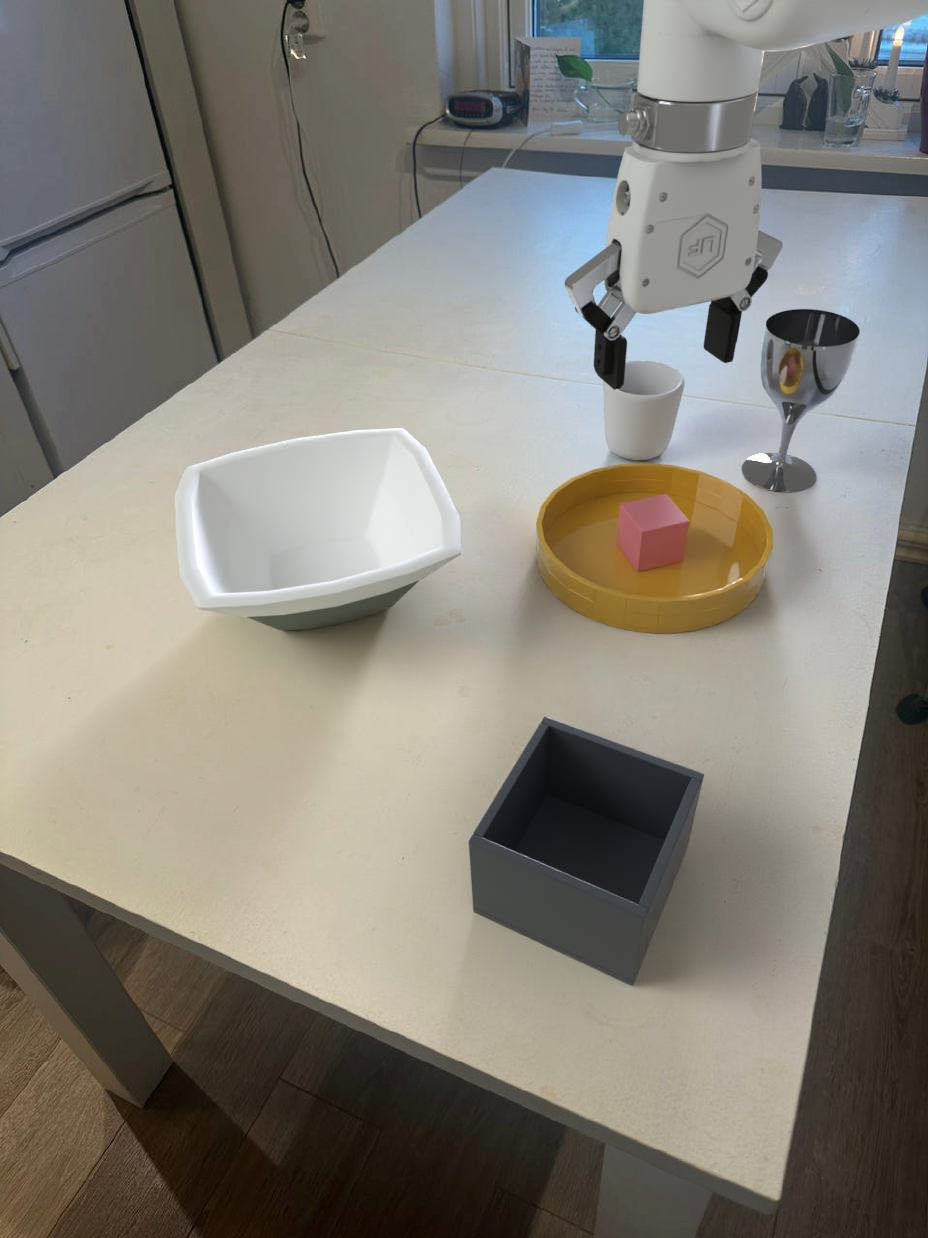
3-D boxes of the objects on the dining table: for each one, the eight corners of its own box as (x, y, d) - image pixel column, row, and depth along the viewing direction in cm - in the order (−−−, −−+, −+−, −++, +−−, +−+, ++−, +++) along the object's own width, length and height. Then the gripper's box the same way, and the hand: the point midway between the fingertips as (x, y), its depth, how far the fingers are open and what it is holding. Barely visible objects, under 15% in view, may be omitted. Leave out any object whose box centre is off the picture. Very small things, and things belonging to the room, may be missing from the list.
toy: (660, 533, 80) (666, 493, 77) (683, 561, 76) (689, 520, 74) (616, 543, 79) (619, 503, 76) (637, 572, 76) (641, 531, 73)
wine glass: (825, 459, 88) (864, 315, 78) (814, 501, 83) (854, 352, 73) (745, 445, 91) (773, 304, 81) (729, 485, 86) (757, 339, 76)
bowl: (418, 491, 87) (411, 416, 82) (485, 642, 71) (482, 560, 65) (194, 535, 83) (171, 459, 78) (210, 705, 67) (181, 624, 61)
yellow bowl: (696, 477, 87) (700, 446, 85) (811, 601, 73) (821, 568, 70) (506, 518, 83) (506, 487, 81) (588, 657, 69) (591, 625, 67)
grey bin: (541, 789, 60) (544, 715, 55) (687, 847, 56) (704, 773, 51) (473, 912, 53) (467, 841, 48) (632, 987, 49) (645, 918, 44)
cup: (632, 410, 97) (638, 342, 92) (699, 429, 94) (710, 359, 88) (584, 454, 91) (588, 384, 86) (654, 476, 87) (663, 404, 82)
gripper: (602, 155, 52) (587, 414, 63) (841, 116, 56) (787, 365, 68) (547, 128, 57) (543, 371, 69) (769, 94, 61) (730, 328, 73)
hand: (664, 368), depth 68 cm, fingers open, 9 cm apart
